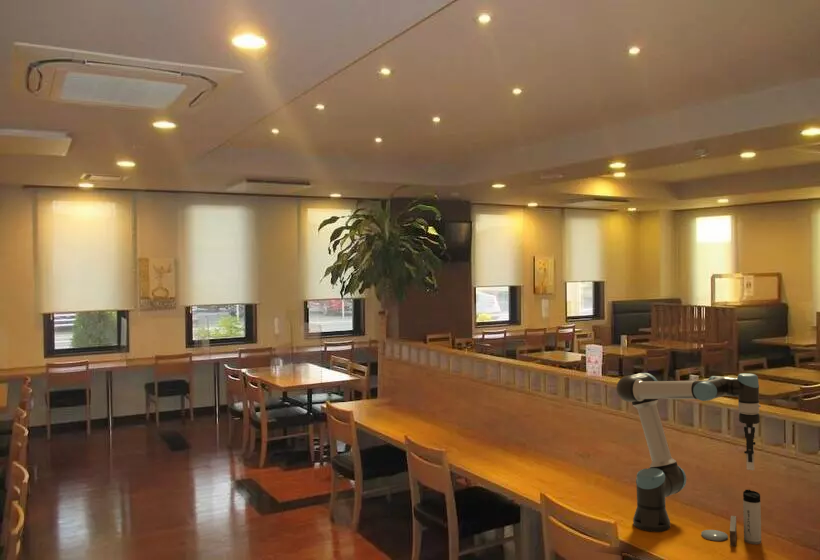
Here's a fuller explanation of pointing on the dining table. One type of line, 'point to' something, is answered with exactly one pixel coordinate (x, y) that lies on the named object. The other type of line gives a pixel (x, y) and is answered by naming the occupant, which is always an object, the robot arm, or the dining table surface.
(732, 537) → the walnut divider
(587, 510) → the dining table surface
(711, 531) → the slate saucer
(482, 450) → the dining table surface
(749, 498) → the travel mug
